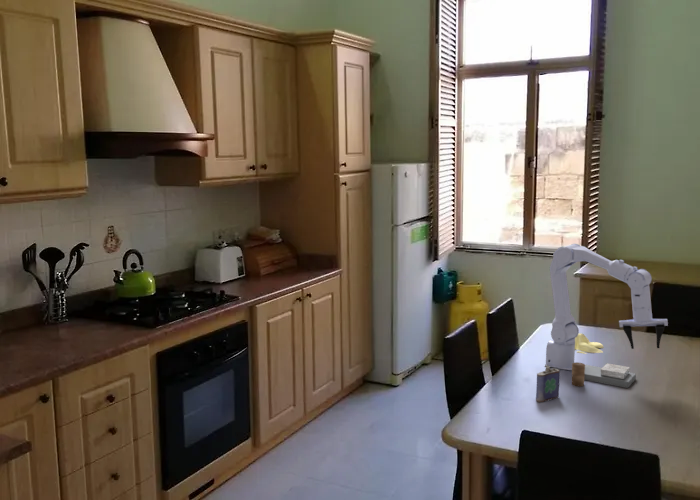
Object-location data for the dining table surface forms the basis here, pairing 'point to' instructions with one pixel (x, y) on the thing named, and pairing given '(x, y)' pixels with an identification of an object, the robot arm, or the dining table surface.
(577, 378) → the pin
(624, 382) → the grey flat frame
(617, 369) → the sliding cover
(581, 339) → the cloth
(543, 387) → the flask
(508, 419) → the dining table surface
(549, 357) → the robot arm
